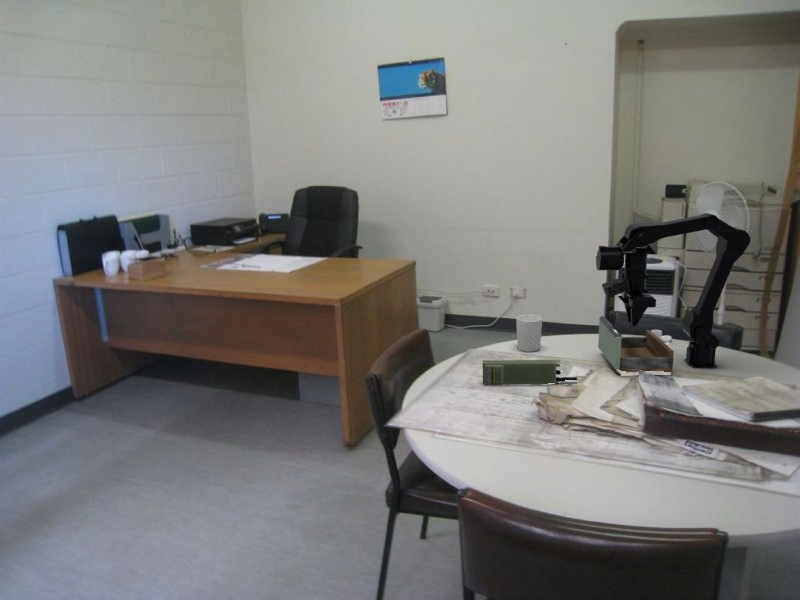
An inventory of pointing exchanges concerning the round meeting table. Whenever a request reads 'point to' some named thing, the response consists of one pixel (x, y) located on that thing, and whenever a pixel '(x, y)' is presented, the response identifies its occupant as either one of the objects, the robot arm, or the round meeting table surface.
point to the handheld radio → (521, 372)
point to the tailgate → (609, 342)
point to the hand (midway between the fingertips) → (632, 323)
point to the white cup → (529, 332)
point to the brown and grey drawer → (645, 354)
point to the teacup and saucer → (663, 338)
